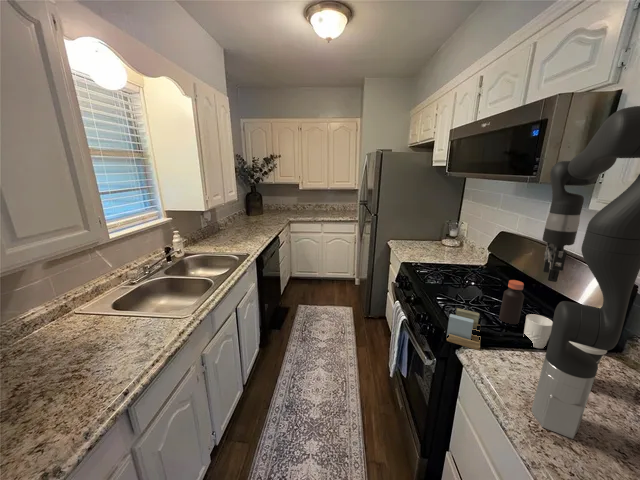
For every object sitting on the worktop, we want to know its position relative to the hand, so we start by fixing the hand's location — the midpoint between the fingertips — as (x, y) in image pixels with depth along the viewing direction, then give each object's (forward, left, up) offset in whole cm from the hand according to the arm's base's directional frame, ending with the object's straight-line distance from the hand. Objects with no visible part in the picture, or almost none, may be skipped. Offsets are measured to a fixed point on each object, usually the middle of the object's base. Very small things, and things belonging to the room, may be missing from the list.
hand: (549, 276), depth 85 cm
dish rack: (0, +21, -30) cm, 37 cm away
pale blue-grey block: (-4, +23, -30) cm, 38 cm away
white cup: (+9, -2, -30) cm, 32 cm away
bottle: (+17, +6, -30) cm, 35 cm away
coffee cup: (-7, -10, -30) cm, 33 cm away
